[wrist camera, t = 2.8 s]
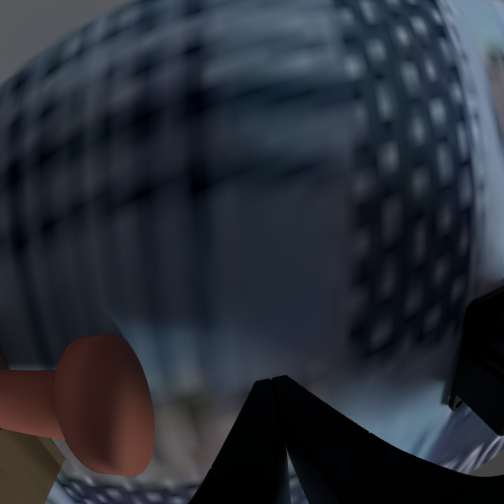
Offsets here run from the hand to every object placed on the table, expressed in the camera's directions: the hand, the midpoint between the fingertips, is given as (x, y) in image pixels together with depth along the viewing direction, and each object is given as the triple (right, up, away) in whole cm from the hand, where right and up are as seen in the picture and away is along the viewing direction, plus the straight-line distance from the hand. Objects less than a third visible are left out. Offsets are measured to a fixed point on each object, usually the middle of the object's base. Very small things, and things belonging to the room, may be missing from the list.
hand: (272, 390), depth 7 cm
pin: (-9, -1, +2) cm, 9 cm away
